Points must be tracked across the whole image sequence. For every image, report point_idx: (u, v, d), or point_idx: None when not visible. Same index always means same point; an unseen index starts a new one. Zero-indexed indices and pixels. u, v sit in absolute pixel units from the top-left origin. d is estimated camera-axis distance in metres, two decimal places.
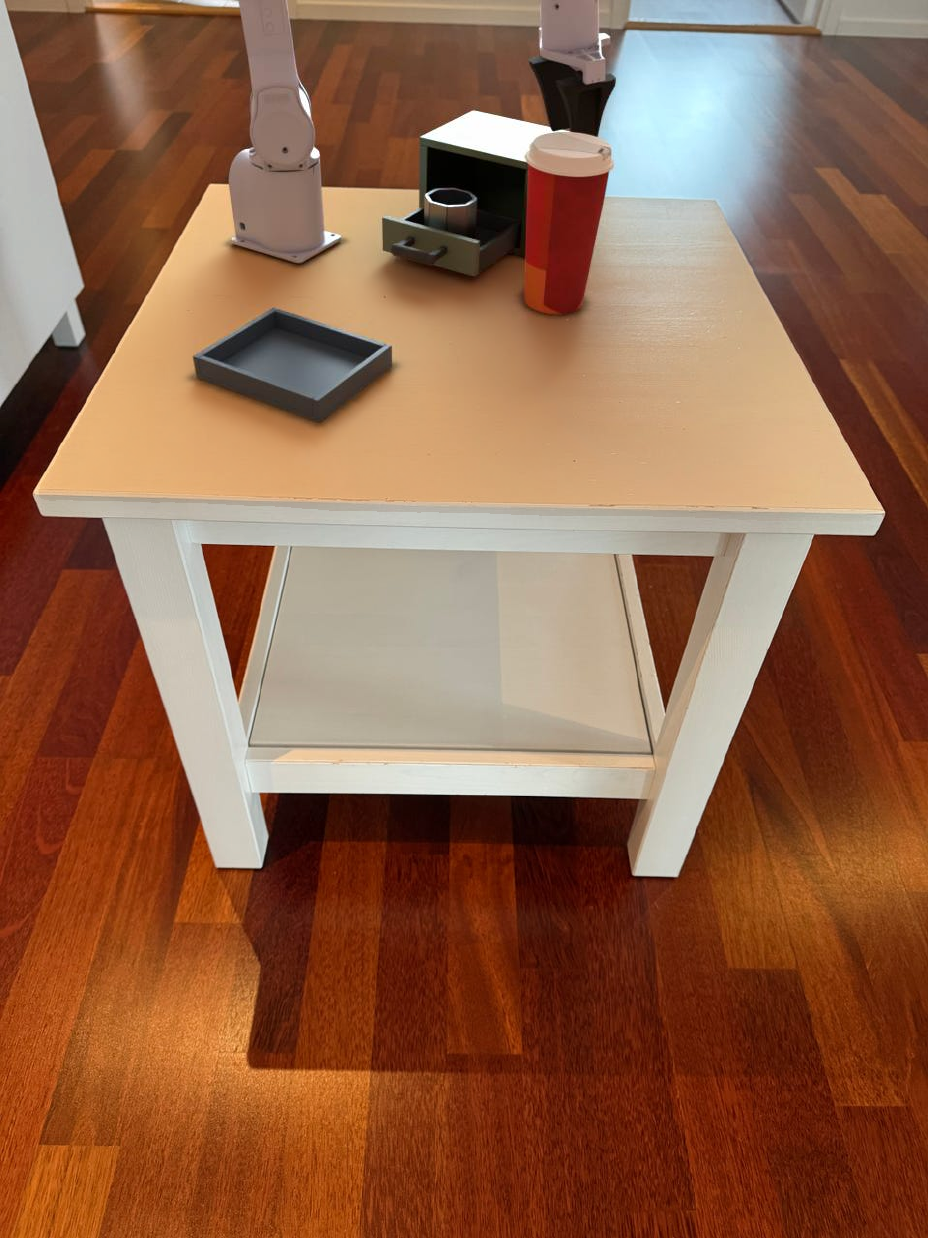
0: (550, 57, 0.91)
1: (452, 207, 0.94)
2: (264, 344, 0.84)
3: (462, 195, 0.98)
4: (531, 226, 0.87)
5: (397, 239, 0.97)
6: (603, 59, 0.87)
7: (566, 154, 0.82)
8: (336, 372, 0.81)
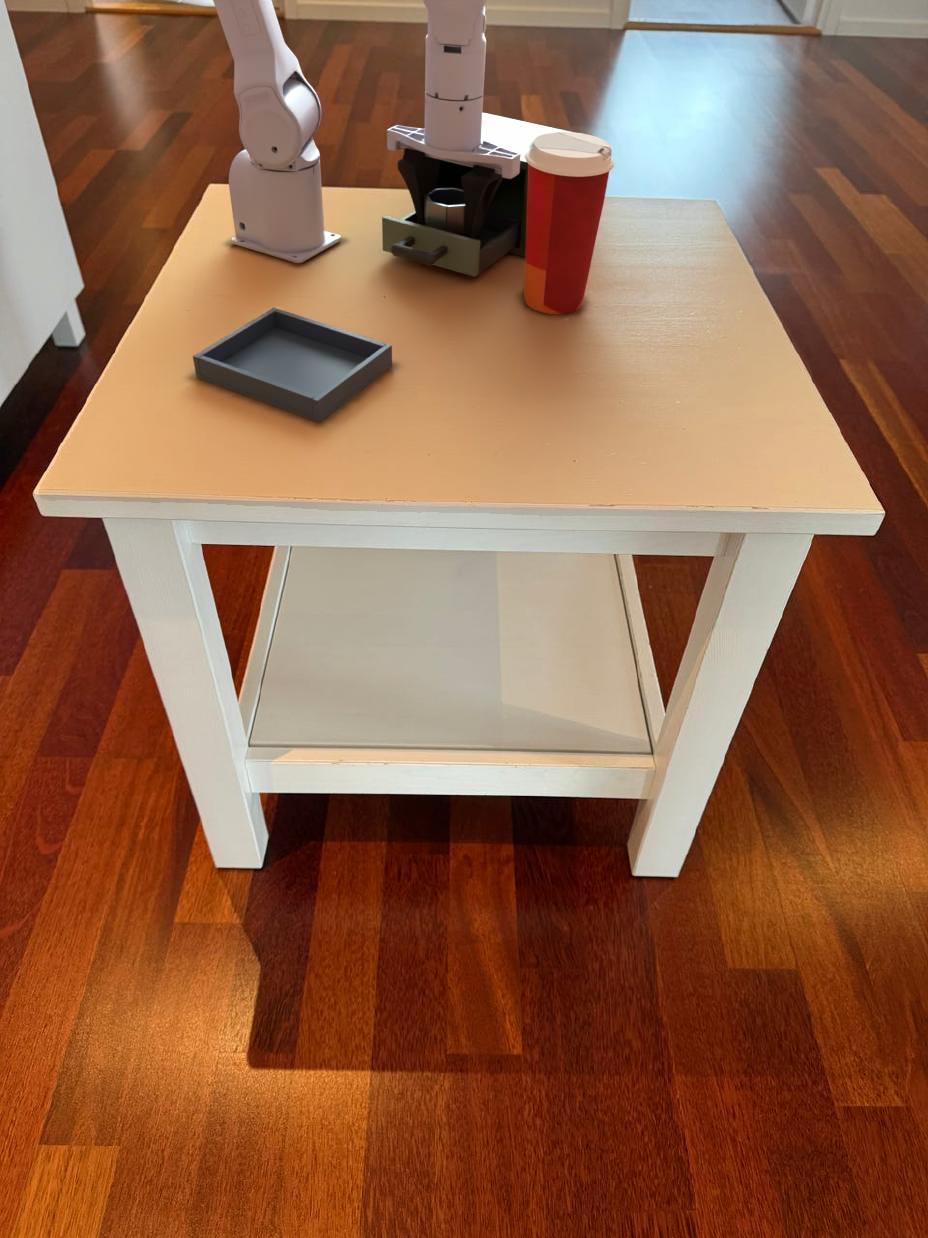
0: (453, 157, 0.90)
1: (452, 207, 0.94)
2: (264, 344, 0.84)
3: (461, 195, 0.98)
4: (531, 226, 0.87)
5: (397, 239, 0.97)
6: (519, 154, 0.90)
7: (566, 154, 0.82)
8: (336, 372, 0.81)
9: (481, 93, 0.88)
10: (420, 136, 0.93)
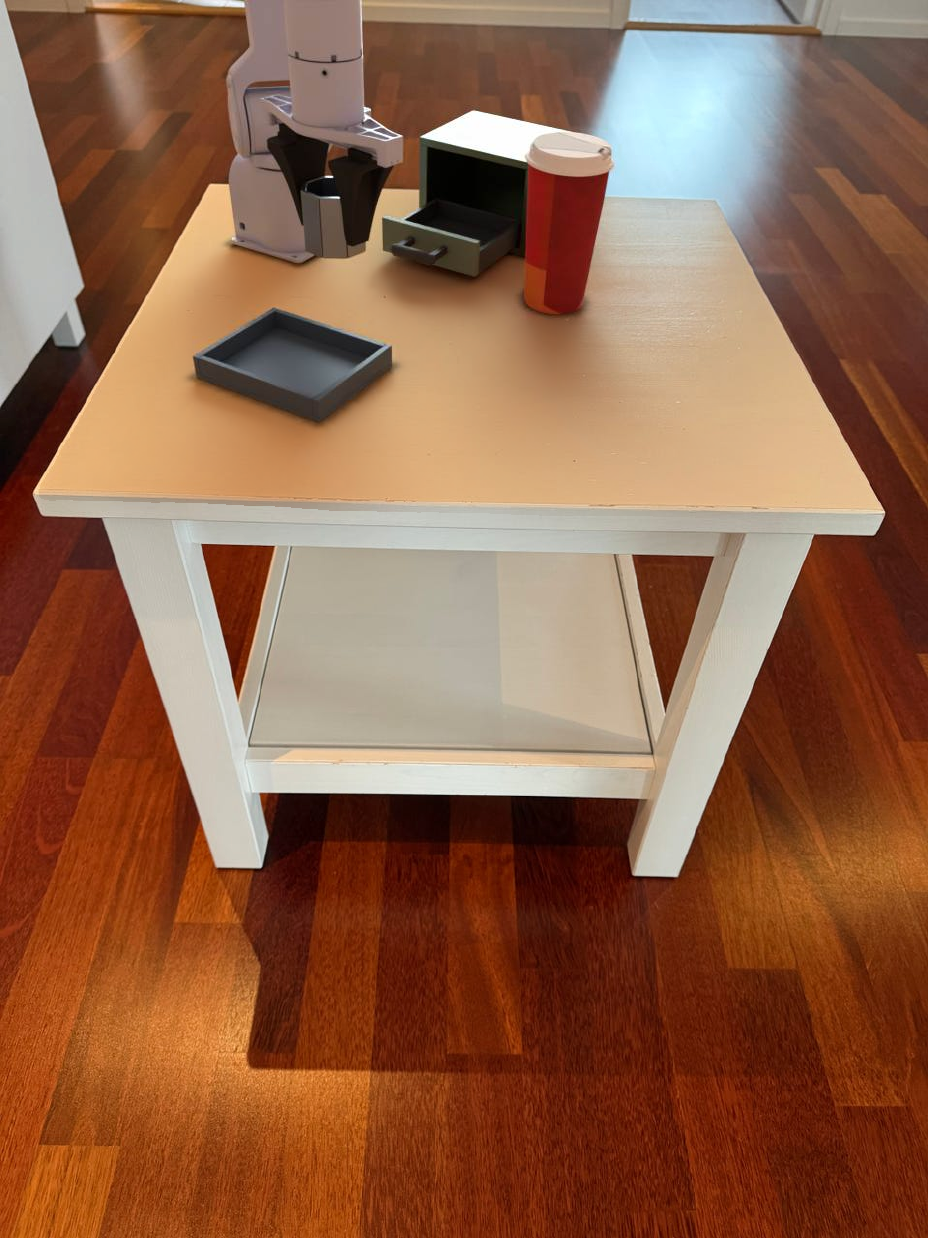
0: (318, 135, 0.71)
1: (325, 199, 0.75)
2: (264, 344, 0.84)
3: None
4: (531, 226, 0.87)
5: (397, 239, 0.97)
6: (401, 137, 0.70)
7: (566, 154, 0.82)
8: (336, 372, 0.81)
9: (322, 58, 0.68)
10: None
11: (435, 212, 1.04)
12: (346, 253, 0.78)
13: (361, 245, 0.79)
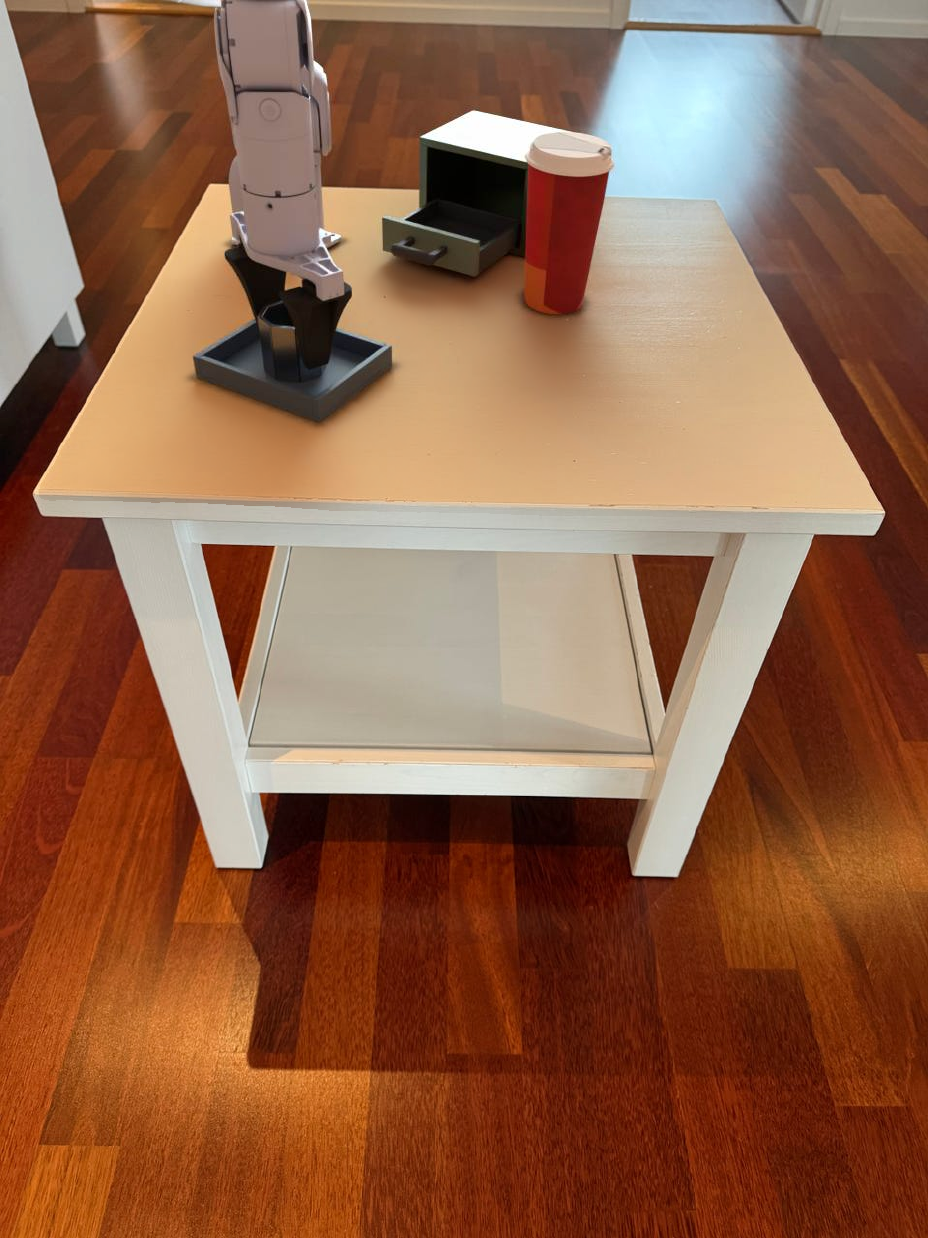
0: (265, 262, 0.72)
1: (276, 328, 0.76)
2: None
3: None
4: (531, 226, 0.87)
5: (397, 239, 0.97)
6: (341, 272, 0.70)
7: (566, 154, 0.82)
8: (336, 372, 0.81)
9: (267, 193, 0.68)
10: None
11: (435, 212, 1.04)
12: (299, 377, 0.79)
13: (316, 370, 0.80)
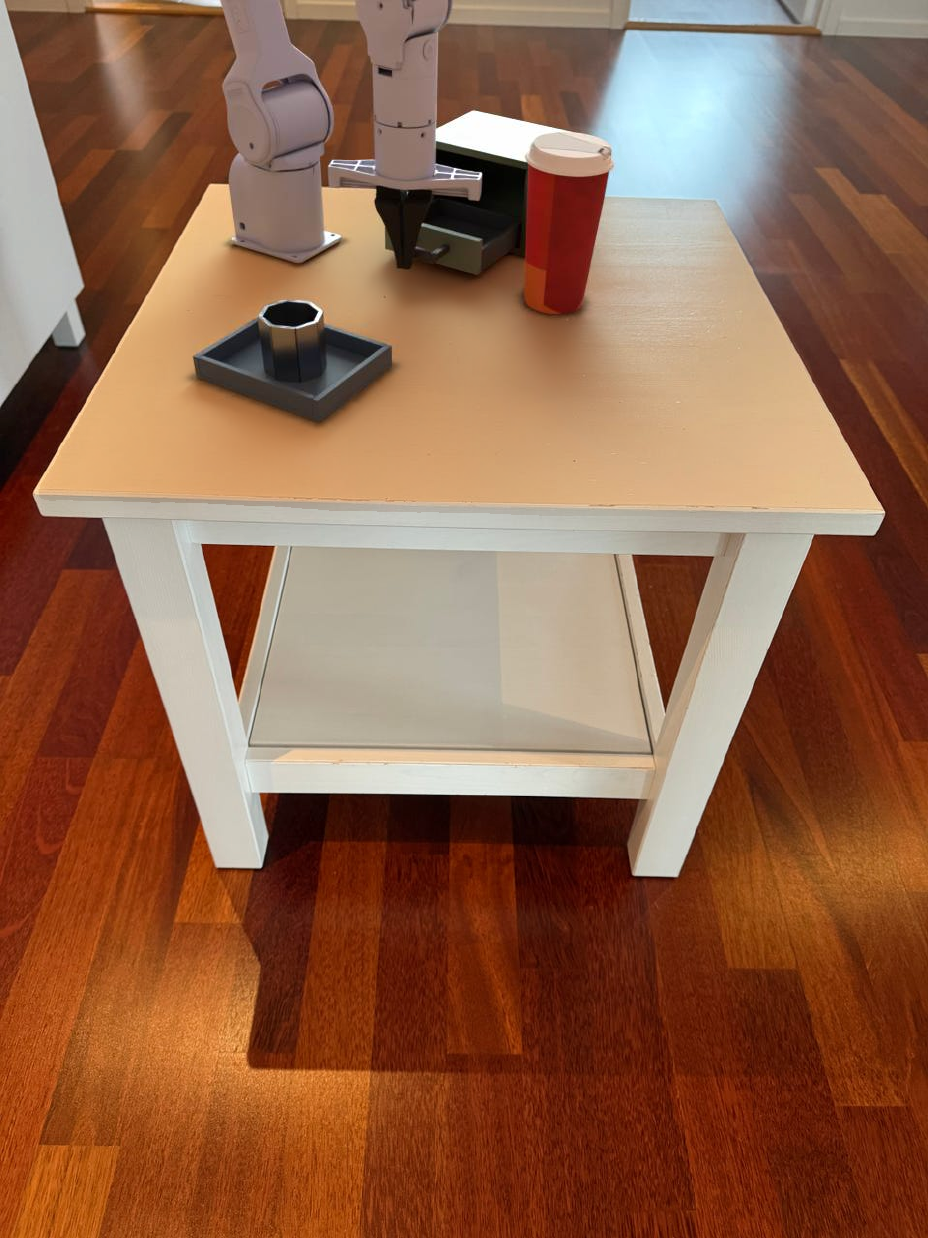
0: (418, 186, 0.85)
1: (276, 328, 0.76)
2: None
3: (314, 313, 0.79)
4: (531, 226, 0.87)
5: None
6: (481, 173, 0.87)
7: (566, 154, 0.82)
8: (336, 372, 0.81)
9: (423, 123, 0.82)
10: (366, 169, 0.87)
11: (437, 211, 1.05)
12: (299, 377, 0.79)
13: (316, 370, 0.80)
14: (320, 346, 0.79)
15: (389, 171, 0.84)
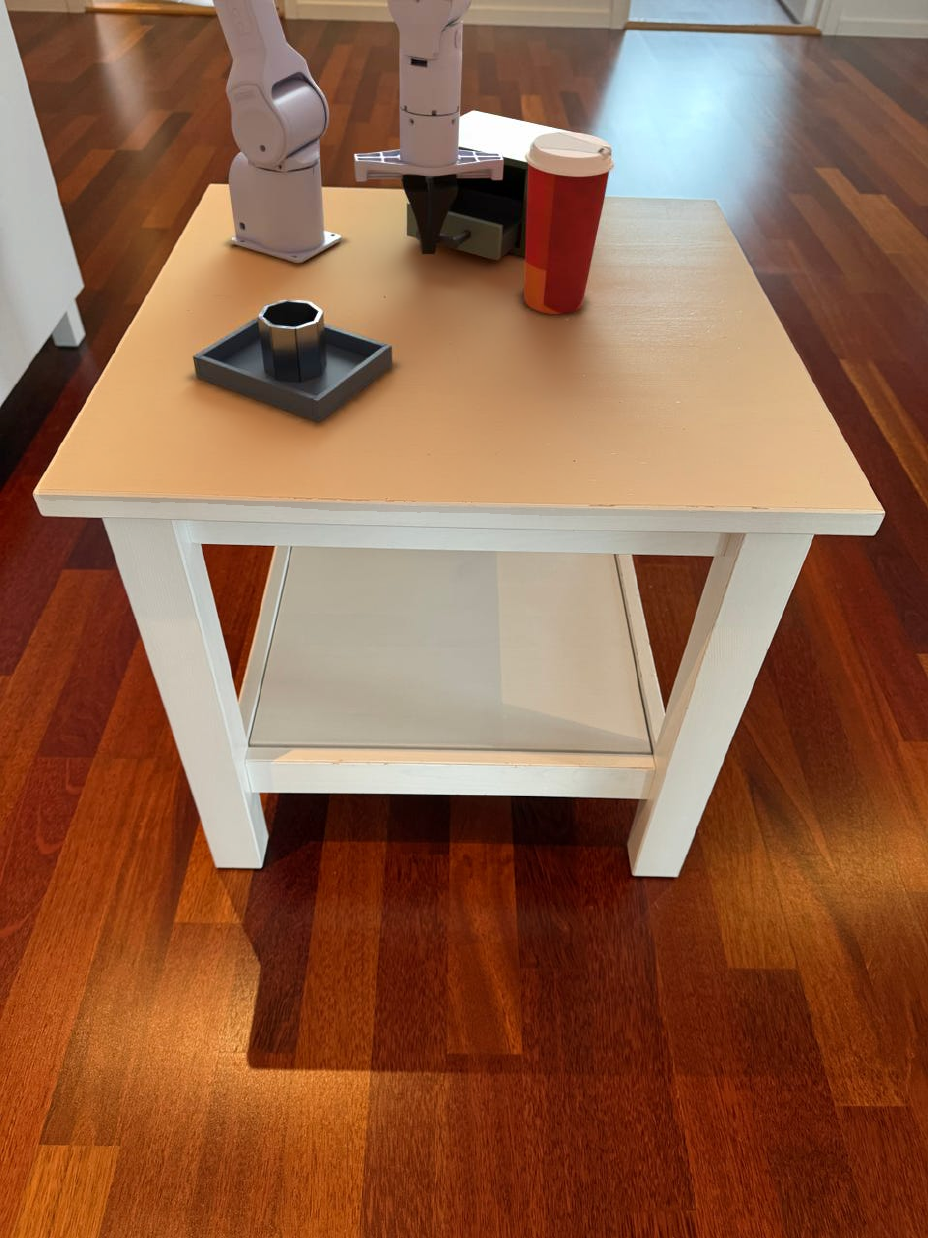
0: (449, 172, 0.88)
1: (276, 328, 0.76)
2: None
3: (314, 313, 0.79)
4: (531, 226, 0.87)
5: None
6: (500, 154, 0.91)
7: (566, 154, 0.82)
8: (336, 372, 0.81)
9: (453, 110, 0.85)
10: (392, 159, 0.89)
11: (456, 199, 1.07)
12: (299, 377, 0.79)
13: (316, 370, 0.80)
14: (320, 346, 0.79)
15: (422, 159, 0.87)
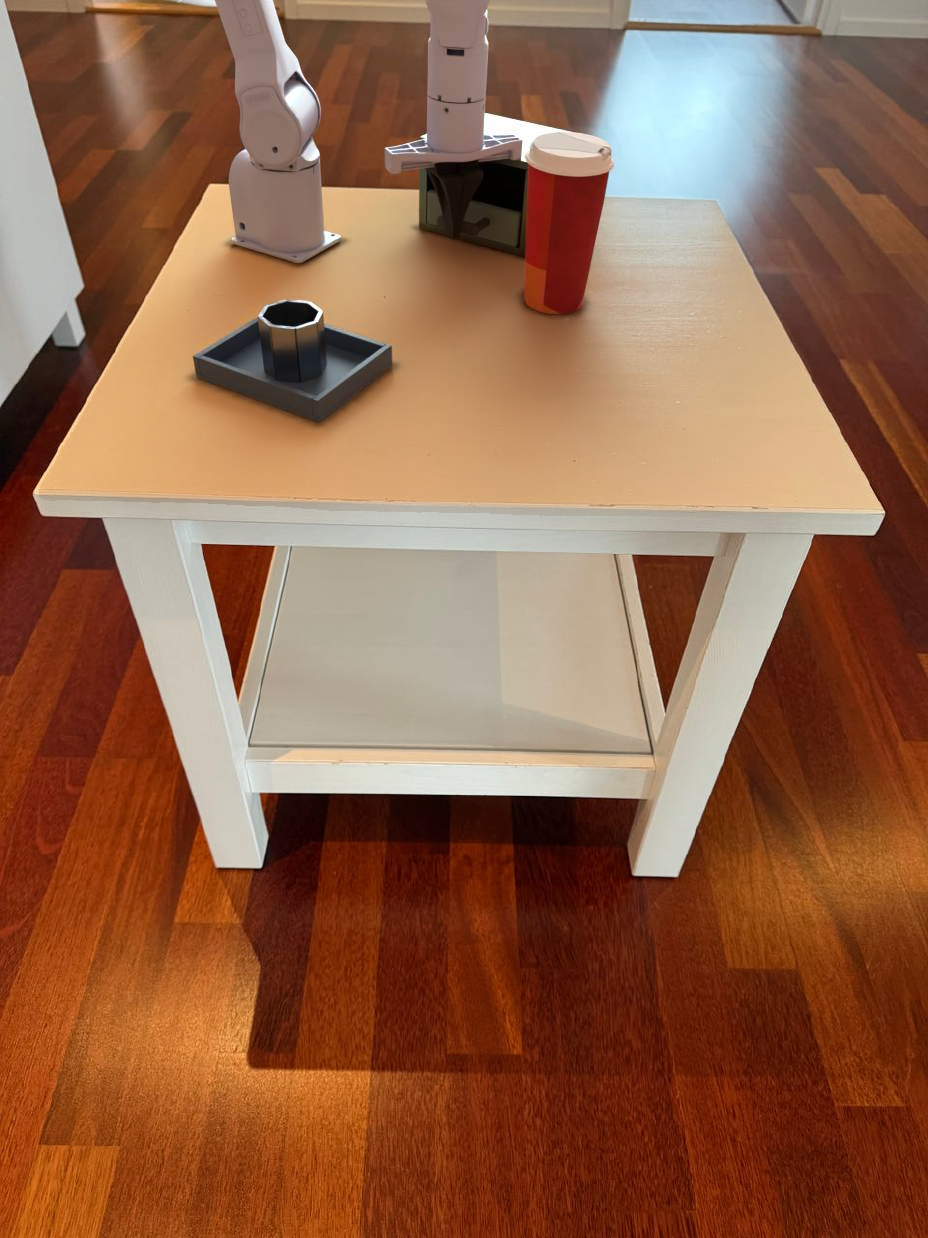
0: (480, 156, 0.92)
1: (276, 328, 0.76)
2: None
3: (314, 313, 0.79)
4: (531, 226, 0.87)
5: (441, 212, 1.03)
6: (514, 135, 0.95)
7: (566, 154, 0.82)
8: (336, 372, 0.81)
9: (483, 95, 0.89)
10: (422, 149, 0.91)
11: None
12: (299, 377, 0.79)
13: (316, 370, 0.80)
14: (320, 346, 0.79)
15: (456, 146, 0.90)
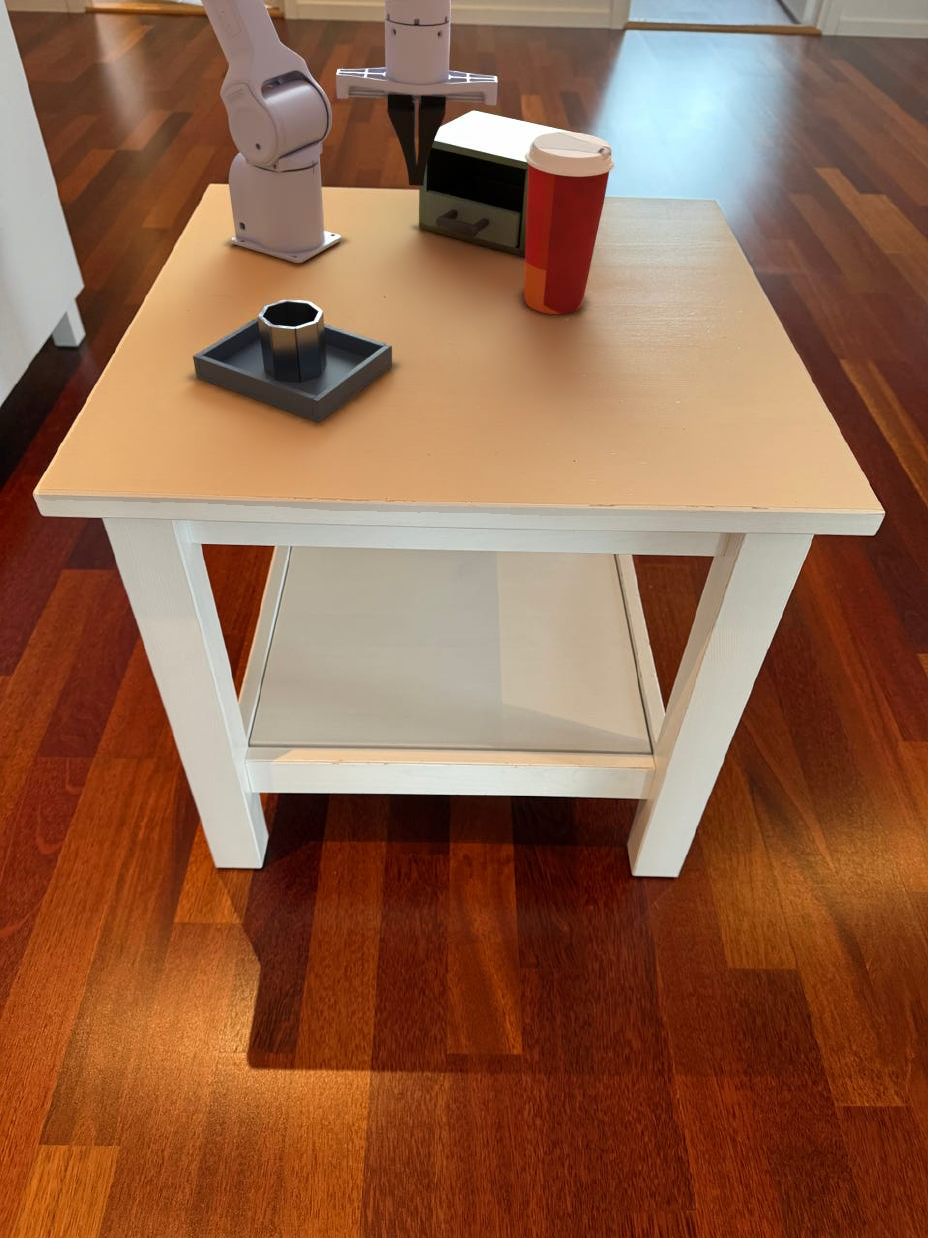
0: (435, 91, 0.81)
1: (276, 328, 0.76)
2: None
3: (314, 313, 0.79)
4: (531, 226, 0.87)
5: (440, 212, 1.03)
6: (496, 77, 0.84)
7: (566, 154, 0.82)
8: (336, 372, 0.81)
9: (440, 20, 0.78)
10: (376, 76, 0.83)
11: (473, 189, 1.10)
12: (299, 377, 0.79)
13: (316, 370, 0.80)
14: (320, 346, 0.79)
15: (404, 75, 0.80)
